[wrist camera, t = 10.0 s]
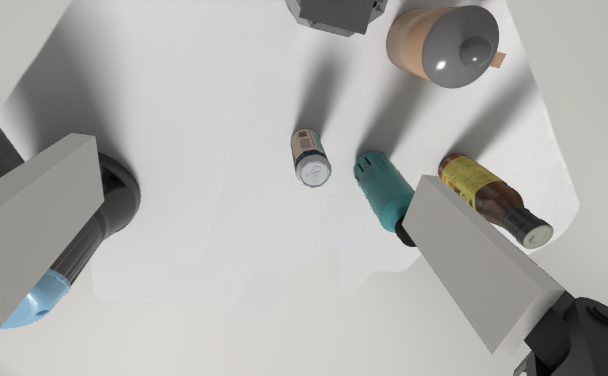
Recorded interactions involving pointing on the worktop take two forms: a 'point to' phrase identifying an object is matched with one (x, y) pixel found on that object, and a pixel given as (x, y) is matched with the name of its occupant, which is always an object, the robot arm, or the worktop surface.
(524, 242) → the sauce bottle
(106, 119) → the worktop surface
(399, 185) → the beverage bottle
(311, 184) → the beer can
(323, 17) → the steel carafe
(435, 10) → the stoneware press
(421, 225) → the robot arm
